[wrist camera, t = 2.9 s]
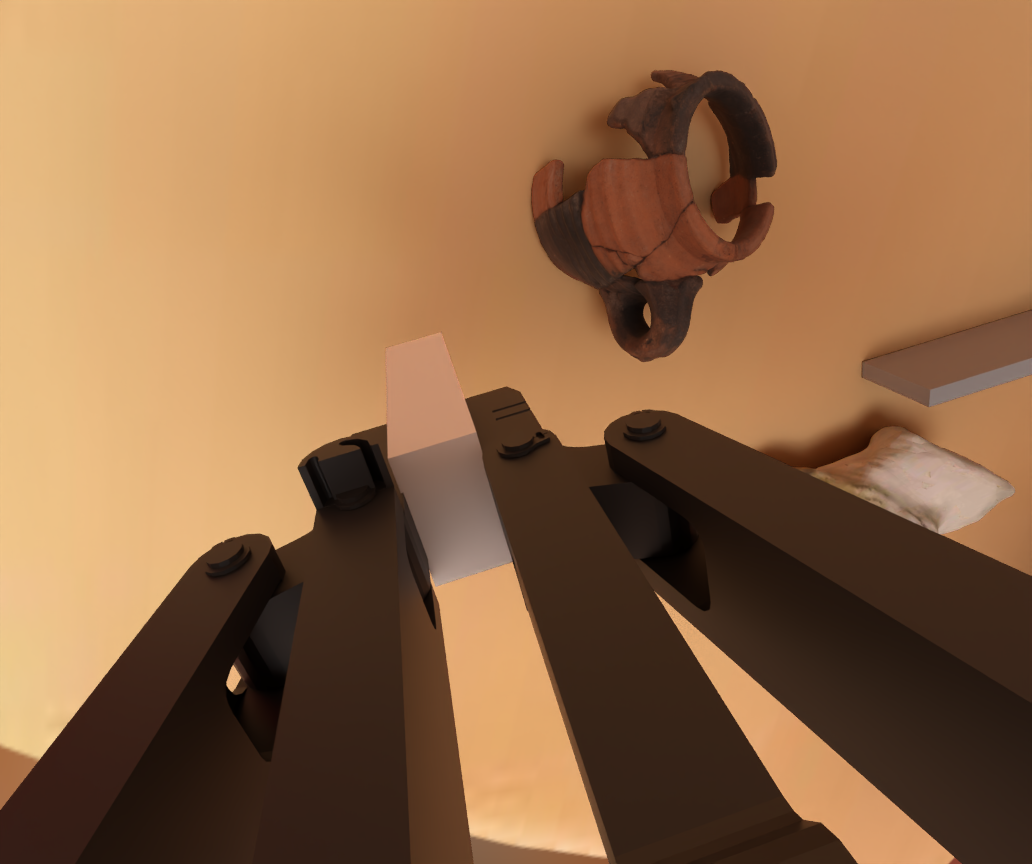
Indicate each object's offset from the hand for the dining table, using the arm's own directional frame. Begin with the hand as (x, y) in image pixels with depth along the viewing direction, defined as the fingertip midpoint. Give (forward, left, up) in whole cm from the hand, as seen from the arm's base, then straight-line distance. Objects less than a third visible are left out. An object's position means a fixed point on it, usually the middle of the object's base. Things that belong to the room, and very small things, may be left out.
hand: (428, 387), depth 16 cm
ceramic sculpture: (-19, -21, -15) cm, 32 cm away
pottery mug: (0, -11, -15) cm, 19 cm away
